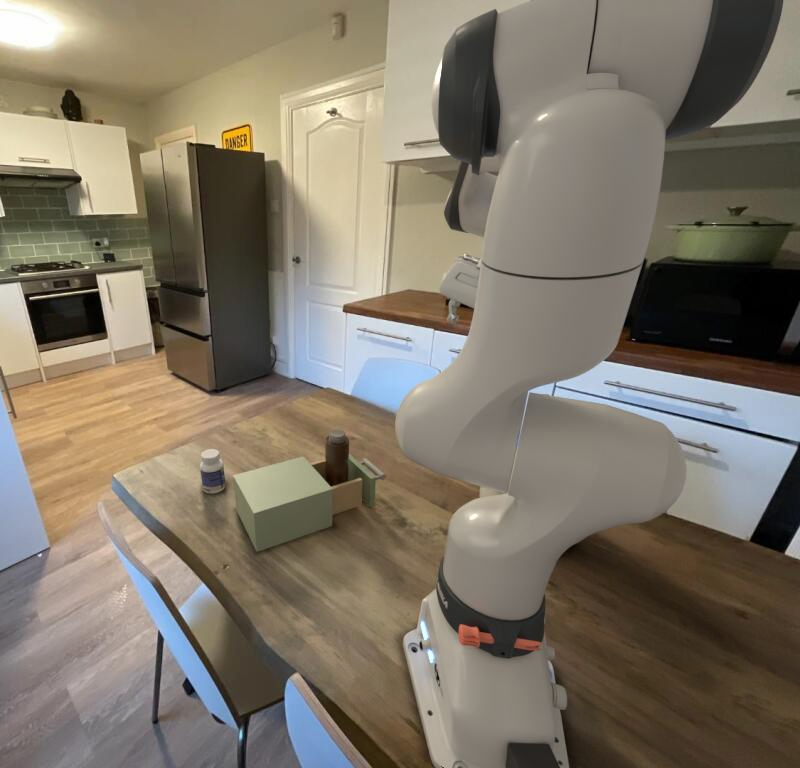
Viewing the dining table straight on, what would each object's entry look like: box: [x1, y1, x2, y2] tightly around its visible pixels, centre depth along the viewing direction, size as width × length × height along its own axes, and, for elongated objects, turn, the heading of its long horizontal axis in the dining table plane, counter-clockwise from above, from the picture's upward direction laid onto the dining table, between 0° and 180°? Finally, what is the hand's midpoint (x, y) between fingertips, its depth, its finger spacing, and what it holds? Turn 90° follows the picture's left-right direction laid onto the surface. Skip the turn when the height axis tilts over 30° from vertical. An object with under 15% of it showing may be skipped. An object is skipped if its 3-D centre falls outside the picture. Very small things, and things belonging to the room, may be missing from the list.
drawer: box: [309, 453, 387, 516], centre depth 85 cm, size 19×12×7 cm, turn 114°
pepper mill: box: [324, 428, 350, 487], centre depth 84 cm, size 5×5×14 cm
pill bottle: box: [199, 448, 226, 495], centre depth 91 cm, size 5×5×9 cm
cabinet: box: [232, 456, 333, 553], centre depth 81 cm, size 16×13×9 cm
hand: (468, 331), depth 84 cm, fingers open, 8 cm apart
